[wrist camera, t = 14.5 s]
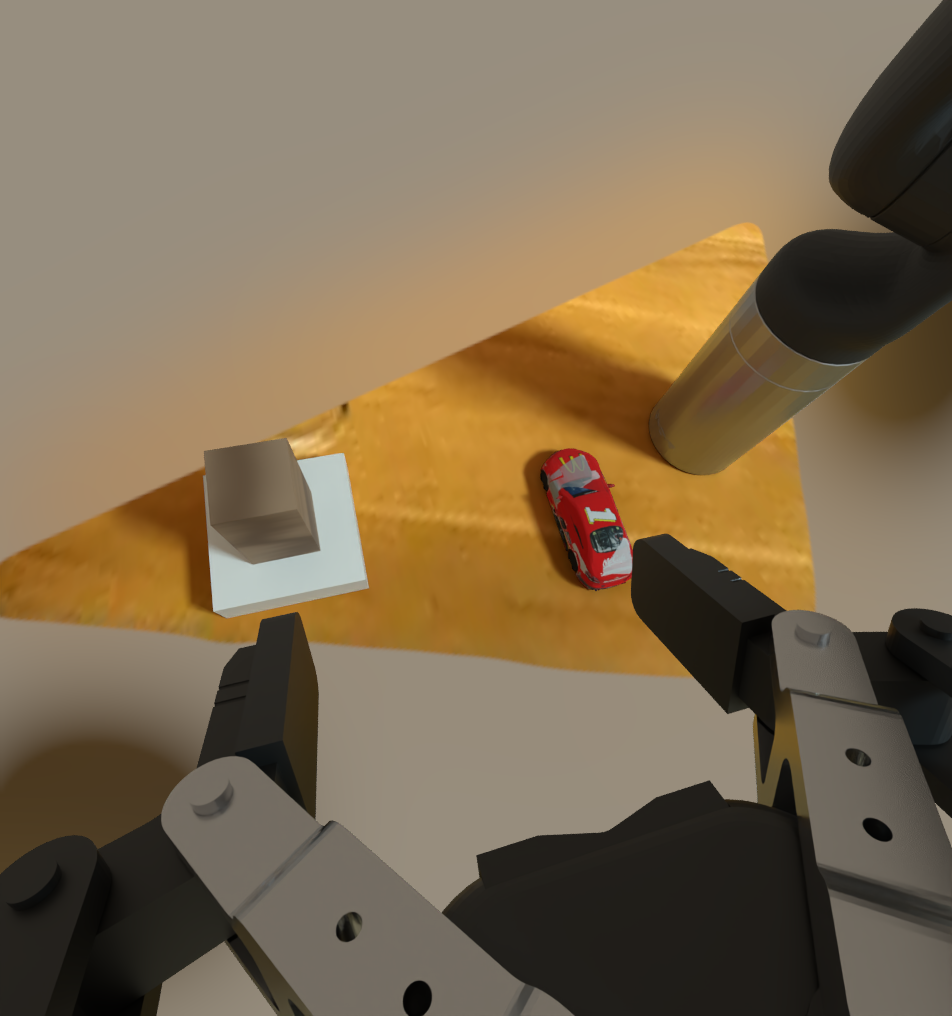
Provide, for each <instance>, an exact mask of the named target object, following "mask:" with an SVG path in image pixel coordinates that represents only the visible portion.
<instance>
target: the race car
mask: <svg viewBox="0 0 952 1016" xmlns="http://www.w3.org/2000/svg"><path fill="white" fill-rule="evenodd" d="M541 471H542V472H541V481H542V482H543V485H544V489H545V490H546V491H548V492H547V493H546V494H547V497H548V500H549V503H550V505H551V508H552V511H553V514H554V517H555V520H556V522H557V525H558V528H559V531H560V534H561V537H562V540H563V542H564V545H565V548H566V551H568V550H570V551H569V553H568V558H569V559H570V561H571V564H572V569H573V570H574V571H577V573H576V576H577V578H578V579H579V581H580V582H581V583H582V584H583V585H584V586H585V587H587V588H588V589H592V590H593V589H595V591H597V589H598V590H600V589H607V588H610V587H614V586H617V585H619V584H623V583H626V581H627V580H629V579H631V577H632V559H633V550H632V547H631V544H630V541H629V539H628V536H627V534H626V531H625V528H624V526H623V523H622V521H621V518H620V516H619V513H618V510H617V508H616V505H615V502H614V500H613V497H612V495H611V492H610V489H609V488H611V487H614V486H615V485H614V484H607V483H606V480H605V478H604V476H603V474H602V472H601V470H600V467H599V464H598V462H597V460H596V459H595V458H594V457H593V456H592V455H590V454H589V453H586V452H584V451H581V450H577V449H569V448H568V449H564V450H560V451H557V452H555V453H554V454H552V455H551V456H550V457H549V458H548V460H547V461H546V462H545V463H544V465H543V466H542V468H541ZM608 485H609V486H608Z"/></svg>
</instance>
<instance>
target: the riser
mask: <svg viewBox="0 0 952 1016" xmlns="http://www.w3.org/2000/svg"><path fill="white" fill-rule="evenodd" d="M297 462H298V464H299V466H300V469H301V471H302V473H303V475H304V477H305V479H306V482H307V484H308V486H309V488H310V490H311V493H312V499H313V505H314V512H315V518H316V524H317V531H318V537H319V543H320V550H321V551H318V552H313V553H308V554H303V555H298V556H293V557H288V558H283V559H279V560H274V561H269V562H264V563H259V564H254V565H253V564H252V563H251V562H250V561H248V560H247V559H246V558H245V557H244V556H243V555H242V554H241V553H240V552H239V551H238V550H237V549H236V548H234V547H233V546H232V545H231V544H230V543H229V542H228V541H227V540H226V539H225V538H224V537H223V536H221V535H220V534H219V533H218V532H217V531H216V530H215V529H214V528H213V527H212V526H211V525H210V517H209V505H208V494H207V482H206V475H204V476H203V481H204V494H205V508H206V521H207V534H208V548H209V561H210V574H211V588H212V601H213V612H215V613H217V614H219V615H221V616H223V617H225V618H231V617H235V616H240V615H245V614H249V613H254V612H259V611H264V610H268V609H273V608H278V607H282V606H287V605H292V604H297V603H301V602H306V601H311V600H315V599H320V598H325V597H330V596H334V595H339V594H344V593H348V592H353V591H358V590H363V589H367V588H369V586H368V580H367V574H366V569H365V563H364V558H363V552H362V546H361V541H360V535H359V529H358V524H357V518H356V512H355V507H354V501H353V496H352V490H351V484H350V479H349V473H348V468H347V464H346V460H345V456H344V453H340V454H334V455H328V456H321V457H315V458H309V459H303V460H297Z"/></svg>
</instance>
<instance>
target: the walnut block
mask: <svg viewBox="0 0 952 1016" xmlns="http://www.w3.org/2000/svg"><path fill="white" fill-rule="evenodd" d="M204 459H205V470H206V482H207V494H208V505H209V517H210V525H211V526H212V527H213V528H214V529H215V530H216V531H217V532H218V533H219V534H220V535H221V536H223V537H224V538H225V539H226V540H227V541H228V542H229V543H230V544H231V545H232V546H233V547H234V548H236V549H237V550H238V551H239V552H240V553H241V554H242V555H243V556H244V557H245V558H246V559H247V560H248V561H250V562H251V563H252V564H253V565H254V564H259V563H264V562H269V561H274V560H279V559H283V558H288V557H293V556H298V555H303V554H308V553H313V552H318V551H321V550H320V543H319V537H318V531H317V524H316V518H315V512H314V505H313V499H312V493H311V490H310V488H309V486H308V484H307V482H306V479H305V477H304V475H303V473H302V471H301V469H300V466H299V464H298V462H297V460H296V458H295V455H294V453H293V451H292V449H291V447H290V445H289V442H288V440H287V438H284V439H277V440H271V441H265V442H259V443H252V444H247V445H240V446H233V447H228V448H221V449H215V450H208V451H204Z"/></svg>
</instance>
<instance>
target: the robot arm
mask: <svg viewBox="0 0 952 1016" xmlns="http://www.w3.org/2000/svg"><path fill="white" fill-rule="evenodd" d="M829 182H830V185H831V187H832V189H833V191H834V192H835V193H836V194H837V195H838V196H839V197H840V199H841V200H843V201H844V202H845V203H846V204H847V205H848V206H850V207H851V208H852V209H854V210H855V211H857V212H859V213H860V214H863V215H865V216H867V217H868V218H869V217H870V218H871V220H873V221H875V222H876V223H878V224H880V225H882V226H884V227H886V228H888V229H889V230H891V231H893V233H869V232H858V231H847V230H838V229H825V230H816V231H812V232H807V233H805V234H802V235H800V236H798V237H796V238H794V239H792V240H791V241H790V242H788V243H787V244H786V245H784V246H783V247H782V248H781V249H780V251H779V252H778V253H777V254H776V255H775V256H774V257H773V259H772V260H771V261H770V262H769V264H768V265H767V266H766V267H765V269H764V270H763V271H762V272H761V274H760V275H759V276H758V277H757V279H756V280H755V281H754V282H753V284H752V285H751V286H750V287H749V289H748V290H747V291H746V292H745V294H744V295H743V296H742V297H741V299H740V300H739V301H738V303H737V304H736V305H735V306H734V308H733V309H732V310H731V312H730V313H729V314H728V315H727V317H726V318H725V319H724V320H723V322H722V323H721V324H720V325H719V327H718V328H717V329H716V330H715V332H714V333H713V334H712V335H711V337H710V338H709V339H708V340H707V342H706V343H705V344H704V345H703V347H702V348H701V349H700V350H699V352H698V353H697V354H696V355H695V357H694V358H693V359H692V360H691V362H690V363H689V364H688V365H687V367H686V368H685V369H684V370H683V372H682V373H681V374H680V376H679V377H678V378H677V379H676V381H675V382H674V383H673V384H672V386H671V387H670V388H669V389H668V391H667V392H666V393H665V394H664V396H663V397H662V398H661V399H660V401H659V402H658V403H657V404H656V406H655V407H654V408H653V411H652V413H651V415H650V420H649V432H650V435H651V439H652V441H653V443H654V445H655V447H656V449H657V450H658V451H659V453H660V454H661V455H662V457H664V458H665V459H666V460H667V461H668V462H669V463H670V464H672V465H673V466H675V467H677V468H678V469H680V470H683V471H685V472H688V473H692V474H697V475H710V474H715V473H718V472H720V471H722V470H724V469H725V468H727V467H728V466H729V465H731V464H732V463H733V462H735V461H736V460H737V459H738V458H740V457H741V456H742V455H744V454H745V453H746V452H748V451H749V450H750V449H752V448H753V447H754V446H756V445H757V444H758V443H759V442H761V441H762V440H763V439H765V438H766V437H767V436H769V435H770V434H771V433H772V432H774V431H775V430H776V429H778V428H779V427H780V426H781V425H783V424H784V423H785V422H787V421H788V420H789V419H790V418H792V417H793V416H794V415H796V414H797V413H798V412H799V411H801V410H802V409H803V408H805V407H806V406H807V405H808V404H809V403H811V402H812V401H814V400H815V399H816V398H818V397H819V396H820V395H821V394H823V393H824V392H825V391H827V390H828V389H829V388H831V387H832V386H833V385H834V384H836V383H837V382H838V381H839V380H840V379H842V378H843V377H844V376H846V375H847V374H848V373H850V372H851V371H852V370H853V369H855V368H856V367H857V366H859V365H860V364H861V363H862V362H864V361H865V360H866V359H868V358H869V357H870V356H872V355H873V354H874V353H875V352H877V351H878V350H879V349H881V348H882V347H883V346H885V345H886V344H888V343H890V342H892V341H894V340H896V339H898V338H900V337H901V336H903V335H904V334H906V333H907V332H909V331H910V330H912V329H913V328H914V327H916V326H917V325H918V324H920V323H921V322H922V321H924V320H925V319H927V318H928V317H929V316H930V315H932V314H933V313H935V312H936V311H937V310H939V309H940V308H941V307H943V306H944V305H946V304H947V303H949V302H950V301H952V0H943V1H942V2H941V3H940V4H939V6H938V7H937V8H936V9H935V10H934V11H933V13H932V14H931V15H930V16H929V17H928V18H927V19H926V21H925V22H924V23H923V24H922V25H921V27H920V28H919V29H918V30H917V31H916V33H915V34H914V35H913V36H912V37H911V38H910V40H909V41H908V42H907V43H906V44H905V46H904V47H903V48H902V49H901V50H900V52H899V53H898V54H897V55H896V56H895V58H894V59H893V60H892V61H891V63H890V64H889V65H888V66H887V68H886V69H885V70H884V71H883V72H882V74H881V75H880V76H879V77H878V79H877V80H876V81H875V83H874V84H873V86H872V87H871V88H870V90H869V91H868V92H867V94H866V95H865V96H864V98H863V99H862V101H861V102H860V104H859V105H858V107H857V109H856V110H855V112H854V113H853V115H852V116H851V118H850V120H849V121H848V123H847V124H846V126H845V128H844V130H843V132H842V134H841V136H840V138H839V140H838V142H837V144H836V146H835V149H834V151H833V155H832V158H831V162H830V166H829ZM631 598H632V603H633V606H634V609H635V611H636V613H637V615H638V616H639V617H640V619H641V620H642V621H643V622H644V623H645V624H646V625H647V626H648V628H649V629H650V630H651V631H652V632H653V633H654V634H655V635H656V636H657V637H658V638H659V640H660V641H661V642H662V643H663V644H664V645H665V646H666V647H667V648H668V649H669V651H670V652H671V653H672V654H673V655H674V656H675V657H676V658H677V659H678V660H679V661H680V663H681V664H682V665H683V666H684V667H685V668H686V669H687V670H688V671H689V672H690V674H691V675H692V676H693V677H694V678H695V679H696V680H697V681H698V682H699V683H700V684H701V686H702V687H703V688H705V690H706V691H707V692H708V693H709V694H710V695H711V696H712V697H713V699H714V700H715V701H716V702H717V703H718V704H719V705H720V706H721V707H722V708H723V710H725V712H726V713H727V714H729V713H732V712H736V711H739V710H743V709H746V708H750V709H751V710H752V711H753V712H754V713H755V715H754V720H753V737H754V738H753V739H754V754H755V768H756V769H755V770H756V784H757V803H754V802H749V801H743V800H730V799H726V800H724V799H723V797H722V796H721V795H720V794H719V792H718V791H717V790H716V788H715V787H714V786H713V784H712V783H711V782H710V781H706V782H703V783H700V784H697V785H694V786H691V787H688V788H684V789H681V790H678V791H675V792H672V793H669V794H666V795H663V796H660V797H656V798H655V799H653V800H652V801H651V802H649V803H648V804H646V805H645V806H643V807H642V808H641V809H639V810H638V811H636V812H635V813H634V814H632V815H631V816H629V817H628V818H626V819H625V820H624V821H622V822H621V823H620V824H618V825H616V826H615V827H614V828H612V829H610V830H609V831H606V832H601V833H584V834H563V835H542V836H535V837H532V838H529V839H526V840H523V841H520V842H517V843H514V844H510V845H507V846H504V847H501V848H498V849H495V850H492V851H489V852H486V853H483V854H479V855H477V863H478V870H479V877H480V878H479V879H477V880H476V881H474V882H473V883H472V884H470V885H469V886H467V887H466V888H465V889H464V890H463V891H462V892H461V893H459V894H458V896H456V897H455V898H454V899H453V900H452V901H451V902H450V904H449V905H448V906H447V907H446V908H445V909H444V910H443V912H442V913H441V912H440V911H439V910H438V909H436V908H435V907H434V906H433V905H432V904H431V903H430V902H429V901H427V900H426V899H425V898H424V897H423V896H422V895H421V894H420V893H418V892H417V891H416V890H415V889H414V888H413V887H412V886H411V885H409V884H408V883H407V882H406V881H405V880H404V879H403V878H402V877H400V876H399V875H398V874H397V873H396V872H395V871H394V870H393V869H391V868H390V867H389V866H388V865H387V864H386V863H385V862H383V861H382V860H381V859H380V858H379V857H378V856H377V855H376V854H374V853H373V852H372V851H371V850H370V849H369V848H367V846H365V845H364V844H363V843H362V842H361V841H360V840H359V839H358V838H356V837H355V836H354V835H353V834H352V833H351V832H350V831H348V830H347V829H346V828H345V827H344V826H342V825H341V824H339V823H338V822H335V821H329V822H328V823H327V824H326V825H325V826H322V825H321V824H319V823H318V822H317V821H316V820H315V817H316V816H315V814H316V778H317V777H316V776H317V738H318V698H319V693H318V682H317V675H316V671H315V666H314V663H313V659H312V656H311V652H310V649H309V645H308V641H307V638H306V634H305V631H304V627H303V624H302V620H301V617H300V615H299V613H298V612H295V613H290V614H285V615H281V616H276V617H272V618H267V619H262V621H261V623H260V628H259V633H258V638H257V643H256V645H253V646H249V647H244V648H240V649H238V651H237V652H236V653H235V654H234V655H233V657H232V658H231V659H230V661H229V662H228V663H227V664H226V666H225V667H224V669H223V673H222V676H221V680H220V684H219V691H217V695H216V699H215V703H214V704H215V707H213V710H212V714H211V717H210V721H209V725H208V728H207V732H206V736H205V739H204V743H203V747H202V751H201V754H200V758H199V761H198V765H197V769H195V770H194V771H192V772H191V773H190V774H189V775H187V776H186V777H185V778H184V779H183V780H182V781H181V782H180V783H179V784H178V785H177V786H176V787H175V788H174V789H173V791H172V792H171V793H170V795H169V797H168V798H167V800H166V802H165V805H164V807H163V810H162V814H160V815H159V816H157V817H156V818H154V819H153V820H151V821H150V822H148V823H146V824H145V825H143V826H141V827H139V828H137V829H135V830H133V831H132V832H130V833H128V834H126V835H124V836H122V837H121V838H118V839H117V840H115V841H113V842H111V843H109V844H107V845H105V846H103V847H101V848H100V849H97V848H96V846H95V845H94V843H93V842H92V841H91V840H90V839H88V838H86V837H83V836H75V835H74V836H65V837H61V838H57V839H55V840H52V841H49V842H46V843H44V844H42V845H40V846H38V847H36V848H35V849H33V850H31V851H30V852H28V853H26V854H25V855H23V856H22V857H21V858H19V859H18V860H17V861H15V862H14V863H13V864H11V865H10V866H9V867H8V868H7V869H5V870H4V871H3V872H2V873H1V874H0V1016H156V1014H157V1009H158V1004H159V999H160V993H161V988H162V983H163V982H164V981H165V980H167V979H168V978H170V977H171V976H173V975H174V974H176V973H177V972H179V971H180V970H182V969H183V968H185V967H186V966H188V965H189V964H191V963H192V962H194V961H195V960H197V959H198V958H200V957H201V956H203V955H204V954H206V953H207V952H209V951H210V950H212V949H213V948H215V947H216V946H218V945H219V944H220V943H222V942H223V941H224V942H225V943H226V945H227V946H228V947H229V949H230V950H231V952H232V953H233V954H234V956H235V957H236V958H237V960H238V961H239V963H240V964H241V966H242V967H243V968H244V970H245V971H246V973H247V974H248V975H249V977H250V978H251V980H252V981H253V982H254V983H255V985H256V986H257V987H258V989H259V991H260V992H261V993H262V995H263V996H264V998H265V999H266V1000H267V1002H268V1003H269V1005H270V1006H271V1007H272V1009H273V1010H274V1012H275V1013H276V1014H277V1016H952V848H951V845H950V842H949V839H948V837H947V834H946V832H945V829H944V826H943V824H942V821H941V818H940V816H939V813H938V811H937V808H936V805H935V803H936V804H937V805H938V806H939V807H940V808H941V809H942V810H943V811H945V812H946V813H947V814H948V815H949V816H950V817H951V818H952V616H951V615H949V614H945V613H942V612H938V611H933V610H928V609H917V608H916V609H904V610H901V611H898V612H897V613H895V614H894V615H893V617H892V620H891V624H890V627H889V630H888V632H851V630H850V629H848V628H847V627H846V626H845V625H843V624H842V623H840V622H839V621H837V620H835V619H833V618H831V617H828V616H826V615H823V614H820V613H816V612H811V611H804V610H790V611H786V610H785V609H783V608H782V607H781V606H779V605H778V604H777V603H775V602H774V601H772V600H771V599H770V598H768V597H767V596H766V595H764V594H763V593H761V592H760V591H759V590H757V589H756V588H755V587H753V586H752V585H751V584H749V583H748V582H746V581H745V580H741V577H740V576H738V575H737V574H735V573H734V572H733V571H729V570H728V568H727V567H726V566H724V565H723V564H722V563H720V562H719V561H718V560H716V559H715V558H713V557H712V556H709V555H707V554H704V553H702V552H699V551H696V550H694V549H688V548H687V547H685V546H684V545H683V544H681V543H680V542H679V541H677V540H676V539H675V538H673V537H672V536H671V535H669V534H661V535H657V536H652V537H647V538H643V539H638V540H636V542H635V543H634V546H633V559H632V581H631Z"/></svg>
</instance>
